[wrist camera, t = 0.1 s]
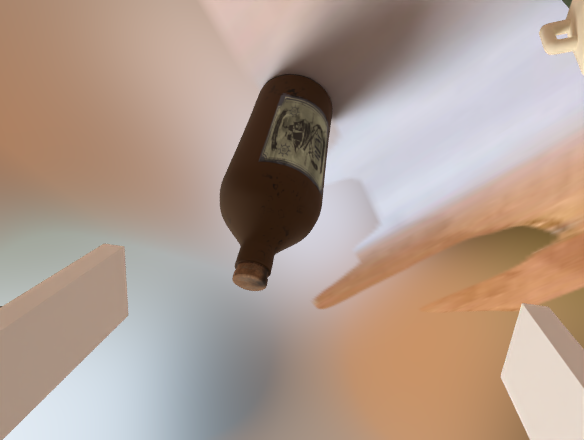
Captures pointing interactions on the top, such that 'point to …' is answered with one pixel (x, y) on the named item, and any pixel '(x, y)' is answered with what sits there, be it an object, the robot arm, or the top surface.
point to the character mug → (579, 27)
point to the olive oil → (276, 175)
